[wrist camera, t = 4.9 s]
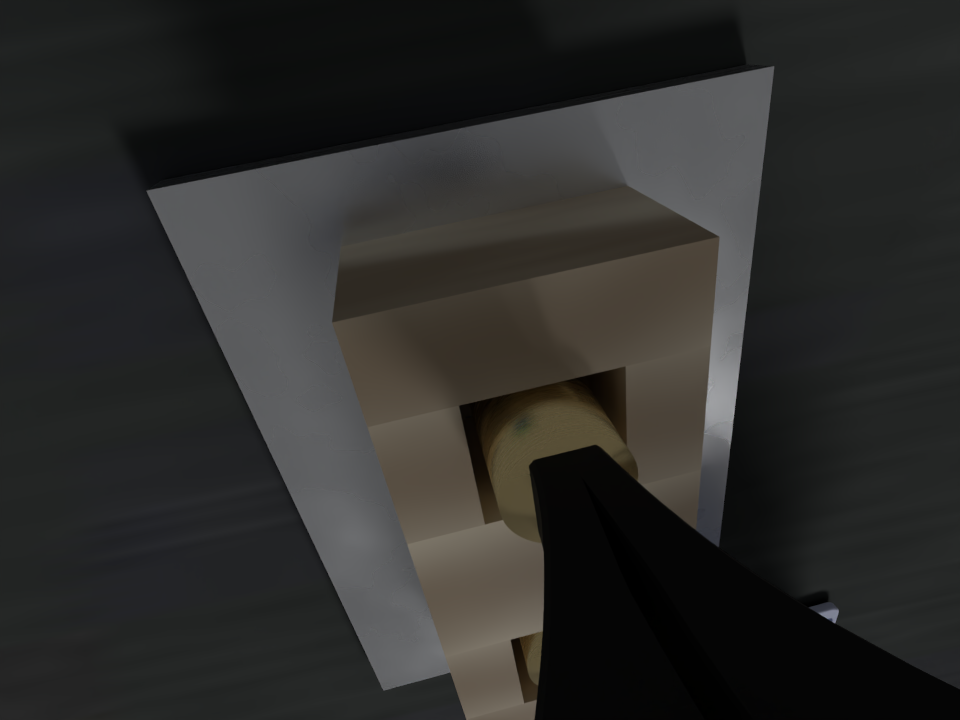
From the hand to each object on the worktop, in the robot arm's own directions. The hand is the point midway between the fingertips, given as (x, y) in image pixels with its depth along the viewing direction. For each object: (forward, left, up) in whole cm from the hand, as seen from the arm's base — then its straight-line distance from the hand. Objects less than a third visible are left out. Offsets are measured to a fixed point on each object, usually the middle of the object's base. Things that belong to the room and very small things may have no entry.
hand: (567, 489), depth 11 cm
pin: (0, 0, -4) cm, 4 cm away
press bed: (-4, 0, -6) cm, 7 cm away
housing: (-4, 0, -6) cm, 7 cm away
